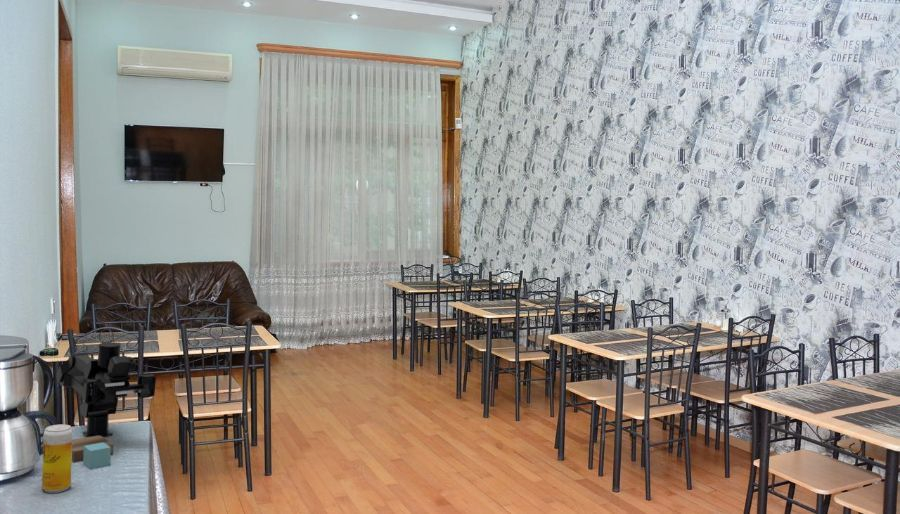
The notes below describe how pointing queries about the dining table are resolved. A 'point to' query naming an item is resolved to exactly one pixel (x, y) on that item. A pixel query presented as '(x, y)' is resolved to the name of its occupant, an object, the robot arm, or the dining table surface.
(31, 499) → the dining table surface
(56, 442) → the beer can
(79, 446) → the walnut base
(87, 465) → the block
